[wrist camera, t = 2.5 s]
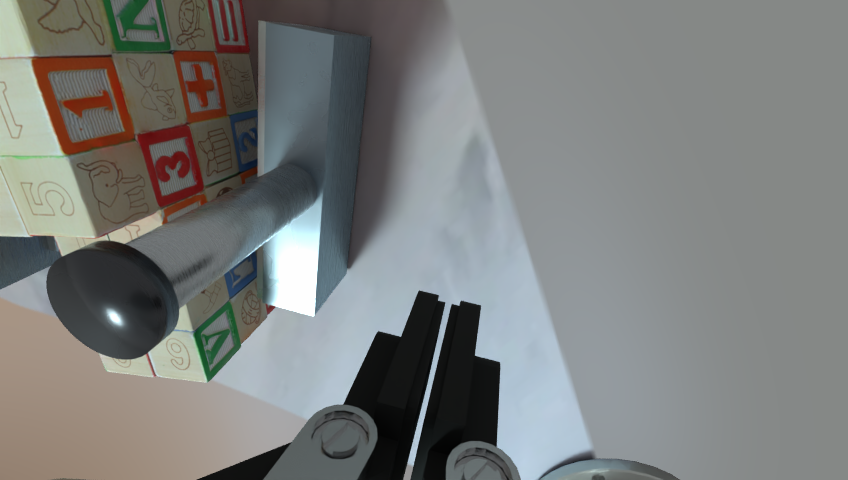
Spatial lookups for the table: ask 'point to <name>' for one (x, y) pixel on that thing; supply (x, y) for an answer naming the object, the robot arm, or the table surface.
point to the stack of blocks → (132, 143)
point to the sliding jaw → (241, 207)
